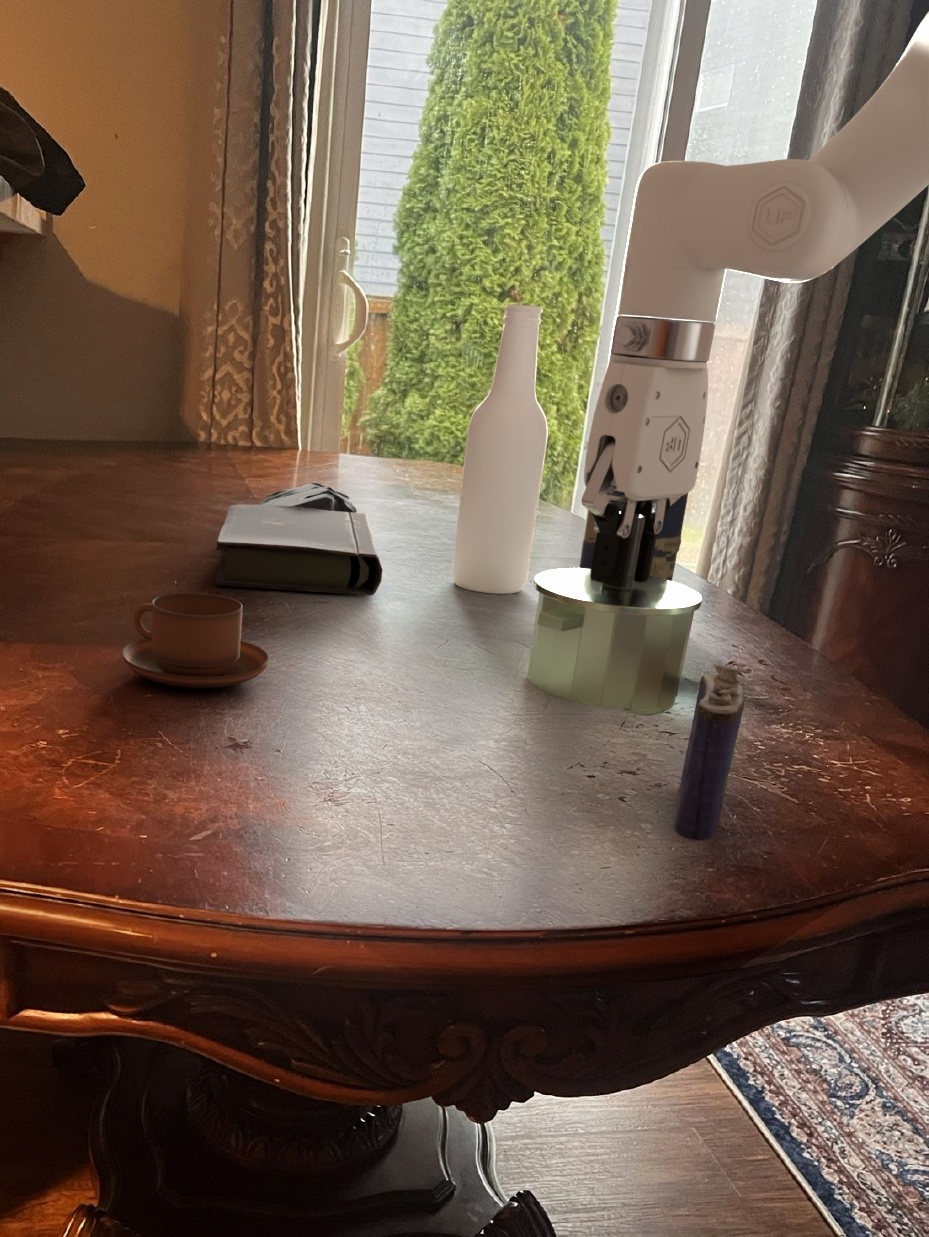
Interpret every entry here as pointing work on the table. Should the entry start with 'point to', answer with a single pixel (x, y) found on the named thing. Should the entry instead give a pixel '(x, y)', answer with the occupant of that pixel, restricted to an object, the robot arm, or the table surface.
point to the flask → (709, 752)
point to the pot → (608, 656)
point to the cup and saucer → (194, 643)
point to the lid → (620, 588)
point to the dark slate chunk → (312, 498)
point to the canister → (664, 545)
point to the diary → (298, 550)
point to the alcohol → (503, 467)
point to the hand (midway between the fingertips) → (619, 579)
